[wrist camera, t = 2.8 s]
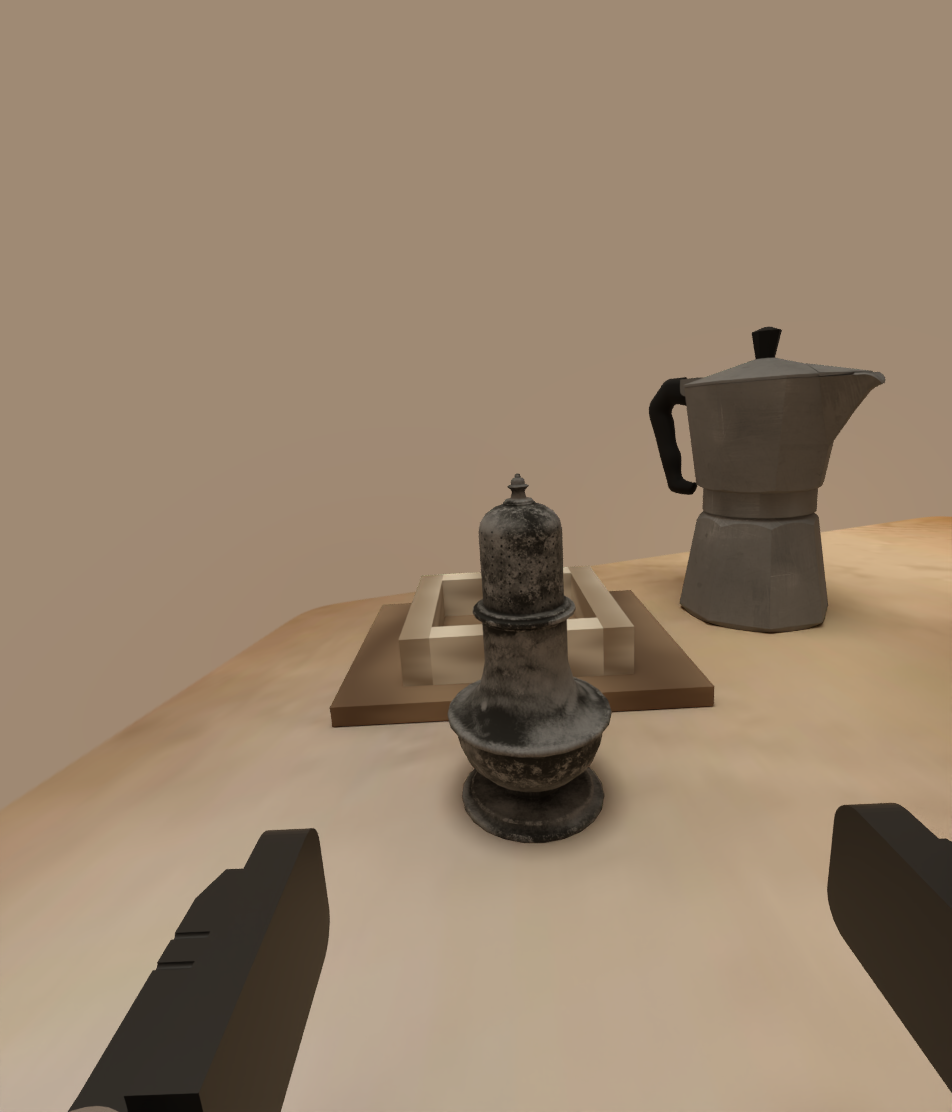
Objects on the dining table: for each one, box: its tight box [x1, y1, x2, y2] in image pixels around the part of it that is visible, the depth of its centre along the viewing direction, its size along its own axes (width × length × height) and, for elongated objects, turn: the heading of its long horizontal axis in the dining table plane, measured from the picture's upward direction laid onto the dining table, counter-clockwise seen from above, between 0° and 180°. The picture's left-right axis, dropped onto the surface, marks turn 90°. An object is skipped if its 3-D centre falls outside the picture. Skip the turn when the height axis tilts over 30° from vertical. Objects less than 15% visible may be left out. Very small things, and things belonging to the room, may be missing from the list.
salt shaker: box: [448, 474, 611, 843], centre depth 20 cm, size 6×6×12 cm
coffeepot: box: [649, 327, 885, 632], centre depth 37 cm, size 15×9×18 cm, turn 32°
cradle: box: [330, 566, 714, 727], centre depth 34 cm, size 18×15×4 cm
